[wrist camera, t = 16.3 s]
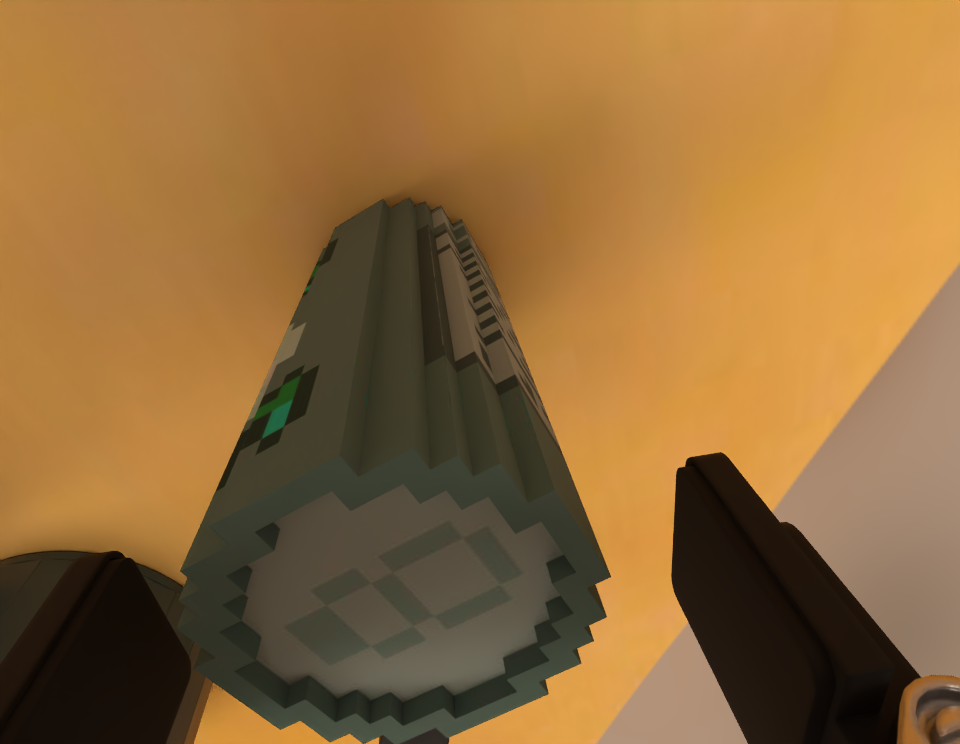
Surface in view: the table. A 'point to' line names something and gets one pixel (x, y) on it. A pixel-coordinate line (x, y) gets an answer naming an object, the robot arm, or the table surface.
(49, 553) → the tin
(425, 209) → the can
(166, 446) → the table surface
